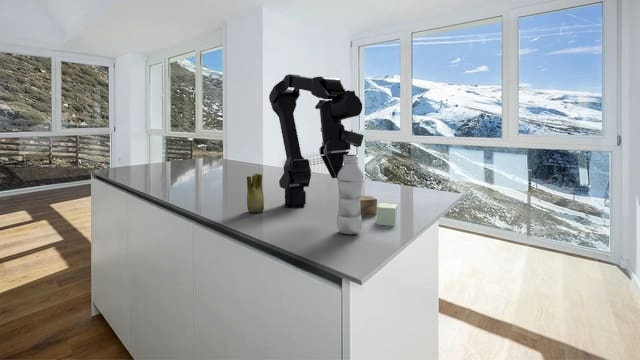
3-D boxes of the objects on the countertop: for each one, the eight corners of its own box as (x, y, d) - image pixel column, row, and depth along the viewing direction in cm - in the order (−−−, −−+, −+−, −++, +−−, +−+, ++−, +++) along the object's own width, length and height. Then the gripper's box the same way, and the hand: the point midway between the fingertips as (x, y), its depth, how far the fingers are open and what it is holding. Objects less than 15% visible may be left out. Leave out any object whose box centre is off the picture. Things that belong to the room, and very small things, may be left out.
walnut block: (361, 216, 109) (361, 200, 109) (355, 212, 114) (355, 196, 113) (376, 215, 111) (377, 199, 110) (370, 211, 115) (370, 195, 115)
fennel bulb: (248, 214, 110) (247, 175, 108) (244, 211, 114) (243, 173, 112) (266, 213, 112) (266, 174, 110) (262, 209, 117) (261, 172, 114)
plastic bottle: (343, 227, 98) (345, 153, 94) (366, 232, 94) (368, 155, 91) (330, 234, 92) (331, 155, 89) (354, 239, 89) (356, 157, 85)
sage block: (376, 224, 101) (377, 207, 100) (378, 219, 106) (379, 203, 105) (394, 226, 100) (395, 208, 99) (396, 221, 105) (397, 204, 104)
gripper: (367, 115, 93) (372, 176, 93) (353, 124, 111) (357, 175, 112) (324, 118, 92) (329, 180, 92) (316, 127, 110) (321, 179, 111)
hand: (336, 178), depth 102 cm, fingers open, 9 cm apart
